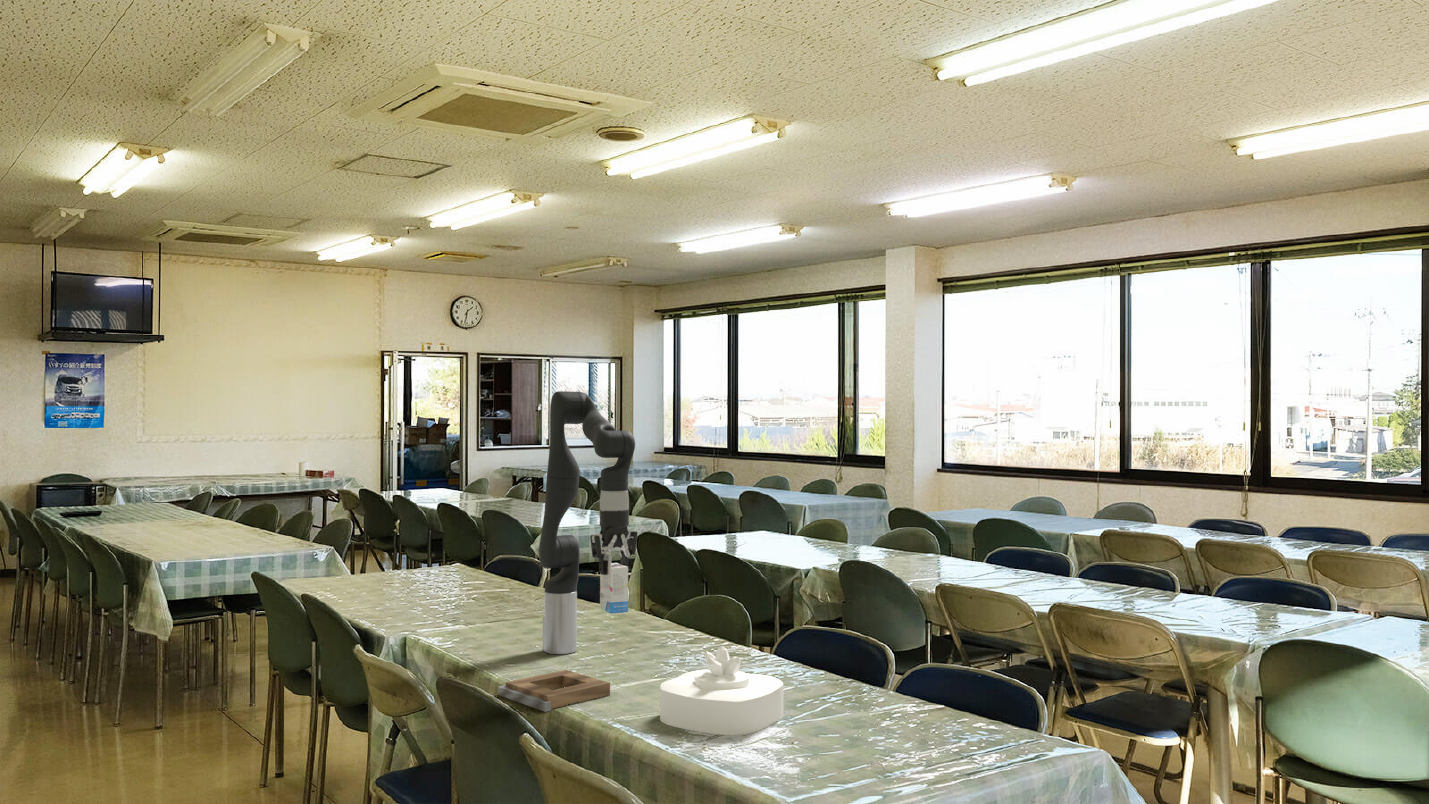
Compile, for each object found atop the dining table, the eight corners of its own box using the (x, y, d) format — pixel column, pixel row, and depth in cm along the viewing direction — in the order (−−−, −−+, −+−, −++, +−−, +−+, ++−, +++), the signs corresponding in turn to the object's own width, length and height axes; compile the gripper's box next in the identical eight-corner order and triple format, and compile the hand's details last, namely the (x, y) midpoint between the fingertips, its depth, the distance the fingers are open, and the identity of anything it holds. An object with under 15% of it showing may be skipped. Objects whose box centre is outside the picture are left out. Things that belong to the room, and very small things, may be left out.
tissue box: (743, 740, 219) (743, 663, 219) (645, 722, 232) (645, 650, 232) (796, 711, 240) (796, 641, 241) (703, 696, 253) (703, 630, 253)
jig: (497, 694, 253) (497, 682, 253) (563, 680, 267) (563, 669, 267) (545, 711, 239) (545, 698, 239) (612, 696, 252) (612, 683, 253)
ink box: (629, 612, 266) (629, 554, 266) (610, 614, 263) (610, 555, 263) (617, 606, 273) (617, 550, 273) (599, 608, 271) (599, 551, 271)
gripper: (626, 505, 276) (626, 568, 276) (583, 508, 266) (582, 574, 266) (645, 507, 271) (644, 572, 271) (601, 510, 261) (600, 578, 261)
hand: (613, 573), depth 268 cm, fingers closed on ink box, 6 cm apart
